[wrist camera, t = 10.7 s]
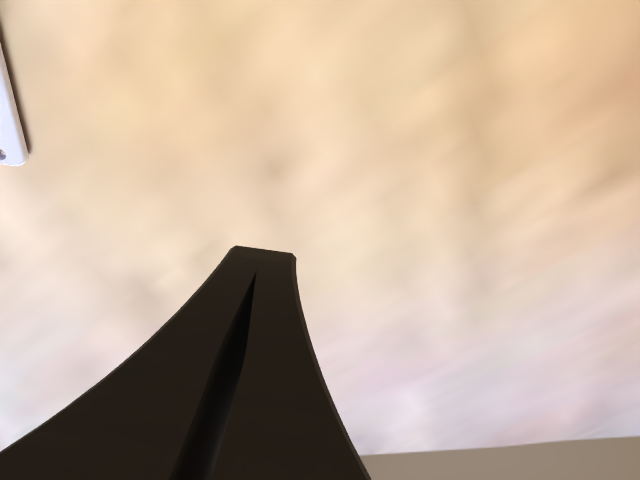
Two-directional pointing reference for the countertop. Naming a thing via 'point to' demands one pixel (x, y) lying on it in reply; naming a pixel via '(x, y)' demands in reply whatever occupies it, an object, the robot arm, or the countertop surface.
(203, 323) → the robot arm
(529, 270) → the countertop surface
